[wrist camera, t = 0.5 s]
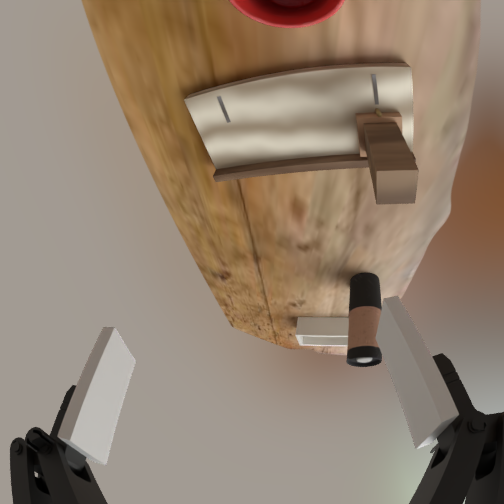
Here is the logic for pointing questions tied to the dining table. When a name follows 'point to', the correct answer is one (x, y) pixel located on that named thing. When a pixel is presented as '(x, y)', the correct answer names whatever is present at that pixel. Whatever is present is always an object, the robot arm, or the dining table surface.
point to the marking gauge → (387, 157)
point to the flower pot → (288, 11)
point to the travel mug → (364, 321)
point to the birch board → (298, 118)
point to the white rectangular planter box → (322, 331)
